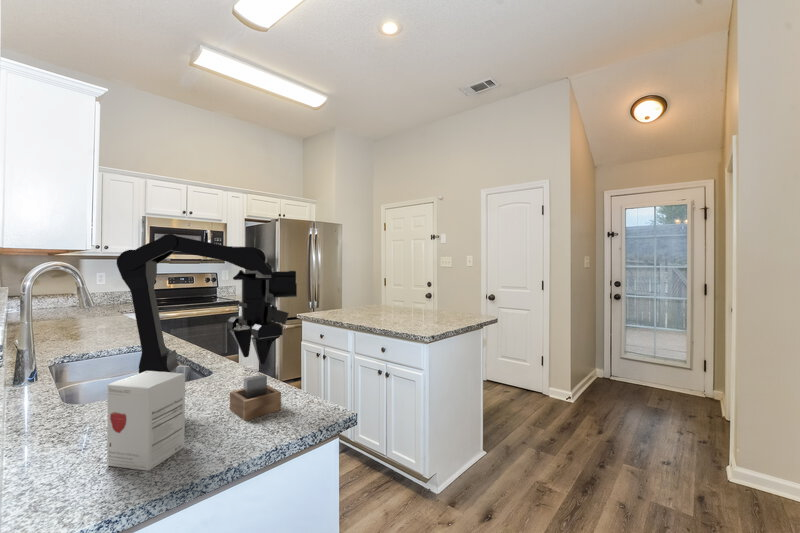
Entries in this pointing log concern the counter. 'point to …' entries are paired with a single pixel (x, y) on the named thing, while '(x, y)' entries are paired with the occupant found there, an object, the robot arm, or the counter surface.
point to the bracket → (255, 386)
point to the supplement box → (145, 419)
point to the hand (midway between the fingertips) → (254, 360)
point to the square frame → (255, 403)
